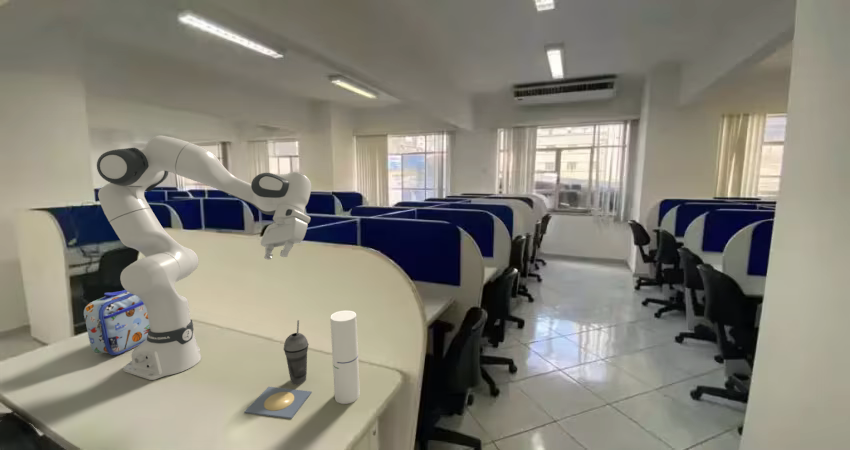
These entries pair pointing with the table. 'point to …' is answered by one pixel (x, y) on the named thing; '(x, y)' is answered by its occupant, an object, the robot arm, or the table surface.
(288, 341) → the beverage cup
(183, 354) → the robot arm
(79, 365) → the table surface
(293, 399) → the card
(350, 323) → the cylindrical container
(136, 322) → the lunch box
